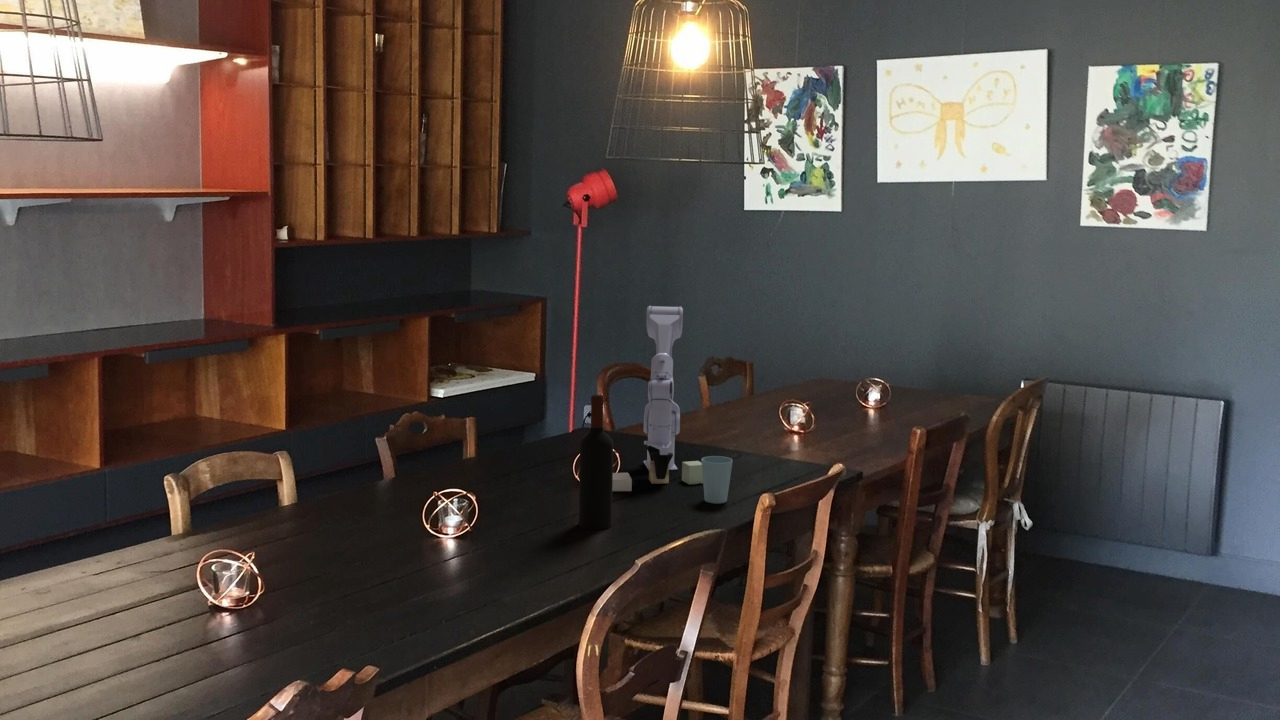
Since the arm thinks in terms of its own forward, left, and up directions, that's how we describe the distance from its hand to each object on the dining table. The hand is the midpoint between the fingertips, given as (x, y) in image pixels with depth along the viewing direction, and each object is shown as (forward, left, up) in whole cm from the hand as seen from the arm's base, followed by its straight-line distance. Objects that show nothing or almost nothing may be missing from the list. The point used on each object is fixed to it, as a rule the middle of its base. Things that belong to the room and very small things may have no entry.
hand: (658, 475), depth 322 cm
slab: (+6, -12, -1) cm, 13 cm away
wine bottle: (+39, -21, -2) cm, 44 cm away
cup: (+20, +11, -2) cm, 23 cm away
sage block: (+1, +9, -2) cm, 9 cm away
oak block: (0, 0, -2) cm, 2 cm away
